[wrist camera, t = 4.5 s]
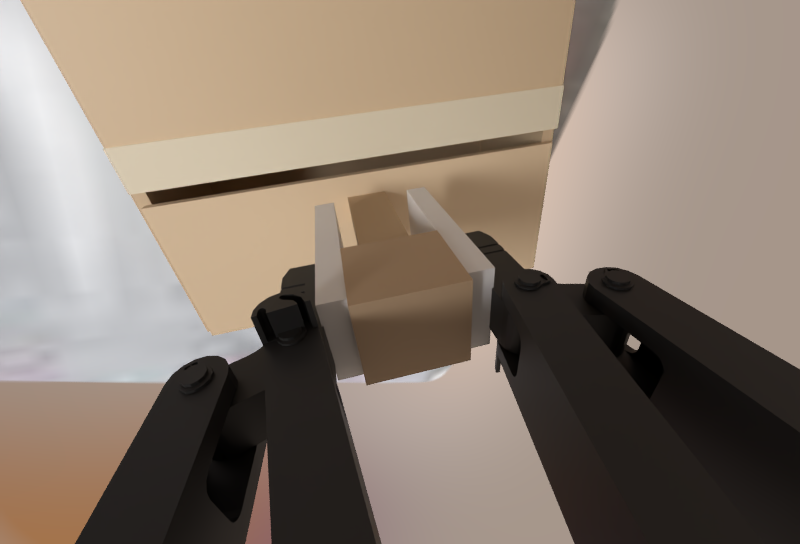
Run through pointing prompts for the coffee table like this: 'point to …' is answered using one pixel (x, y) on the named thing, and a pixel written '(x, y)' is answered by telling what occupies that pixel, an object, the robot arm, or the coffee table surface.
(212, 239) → the flap outer
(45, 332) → the coffee table surface
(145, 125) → the carton
